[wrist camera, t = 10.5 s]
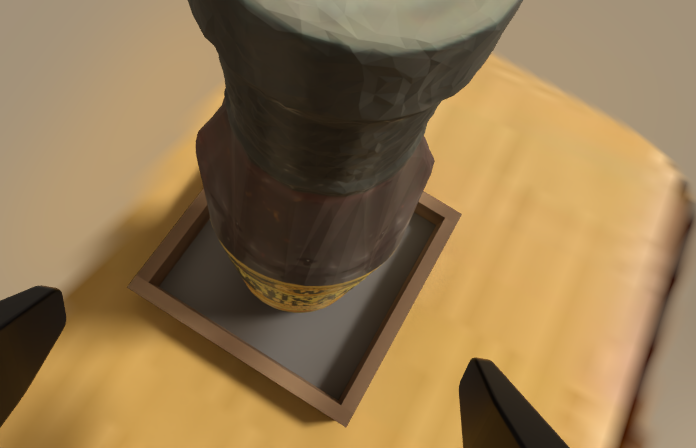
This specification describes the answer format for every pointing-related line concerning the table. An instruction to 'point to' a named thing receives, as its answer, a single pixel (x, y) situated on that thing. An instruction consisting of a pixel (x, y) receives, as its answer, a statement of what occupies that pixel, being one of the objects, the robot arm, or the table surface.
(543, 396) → the table surface
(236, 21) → the sauce bottle
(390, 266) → the walnut frame
